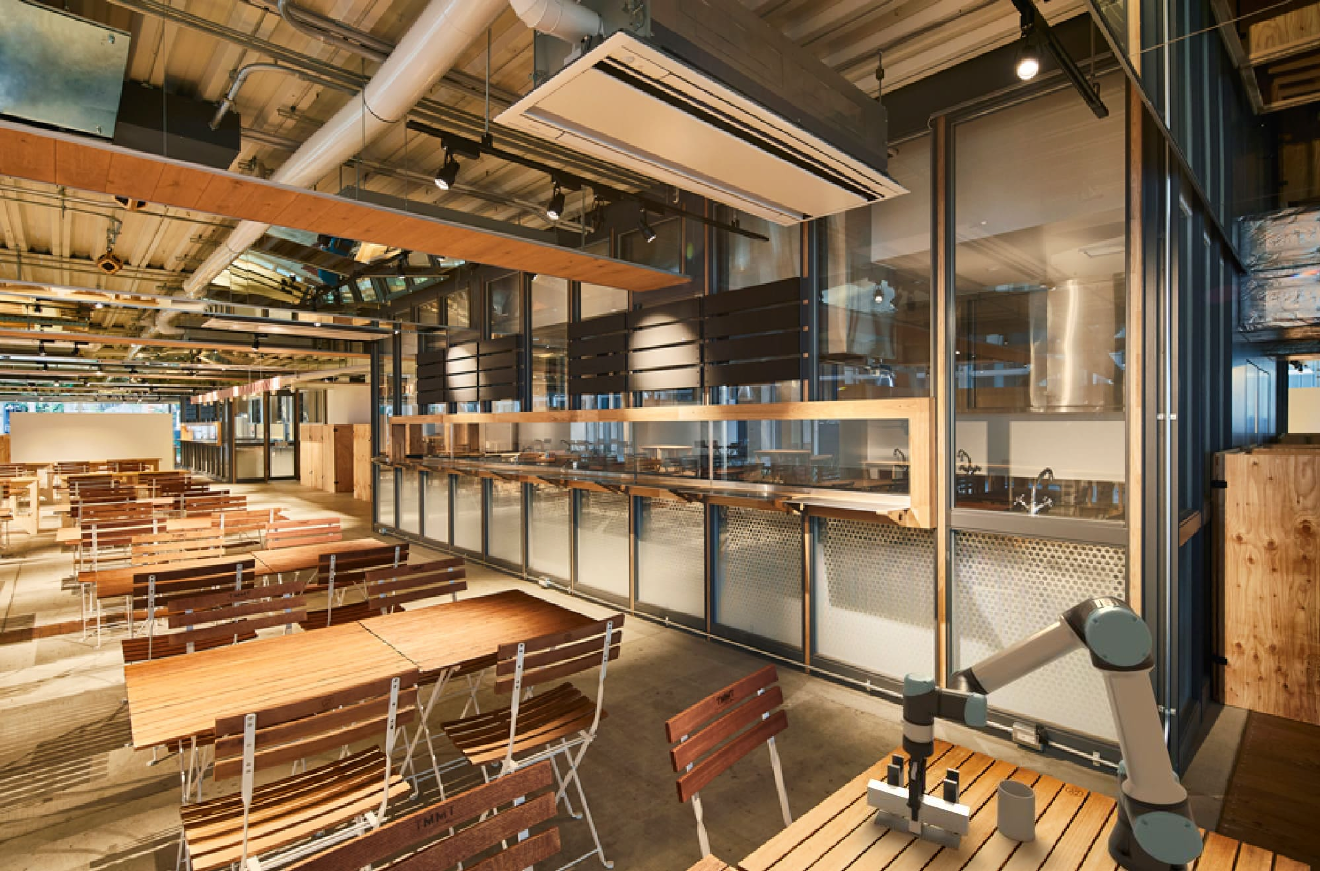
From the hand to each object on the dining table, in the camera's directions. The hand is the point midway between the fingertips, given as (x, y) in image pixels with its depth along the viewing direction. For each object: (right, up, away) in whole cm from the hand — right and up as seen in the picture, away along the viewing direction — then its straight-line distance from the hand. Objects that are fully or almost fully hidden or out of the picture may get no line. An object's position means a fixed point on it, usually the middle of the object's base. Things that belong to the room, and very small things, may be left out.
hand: (916, 826), depth 162 cm
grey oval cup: (+26, -1, +2) cm, 26 cm away
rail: (0, +3, 0) cm, 3 cm away
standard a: (+11, -1, +4) cm, 11 cm away
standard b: (-1, -1, +11) cm, 11 cm away
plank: (0, -1, 0) cm, 1 cm away
